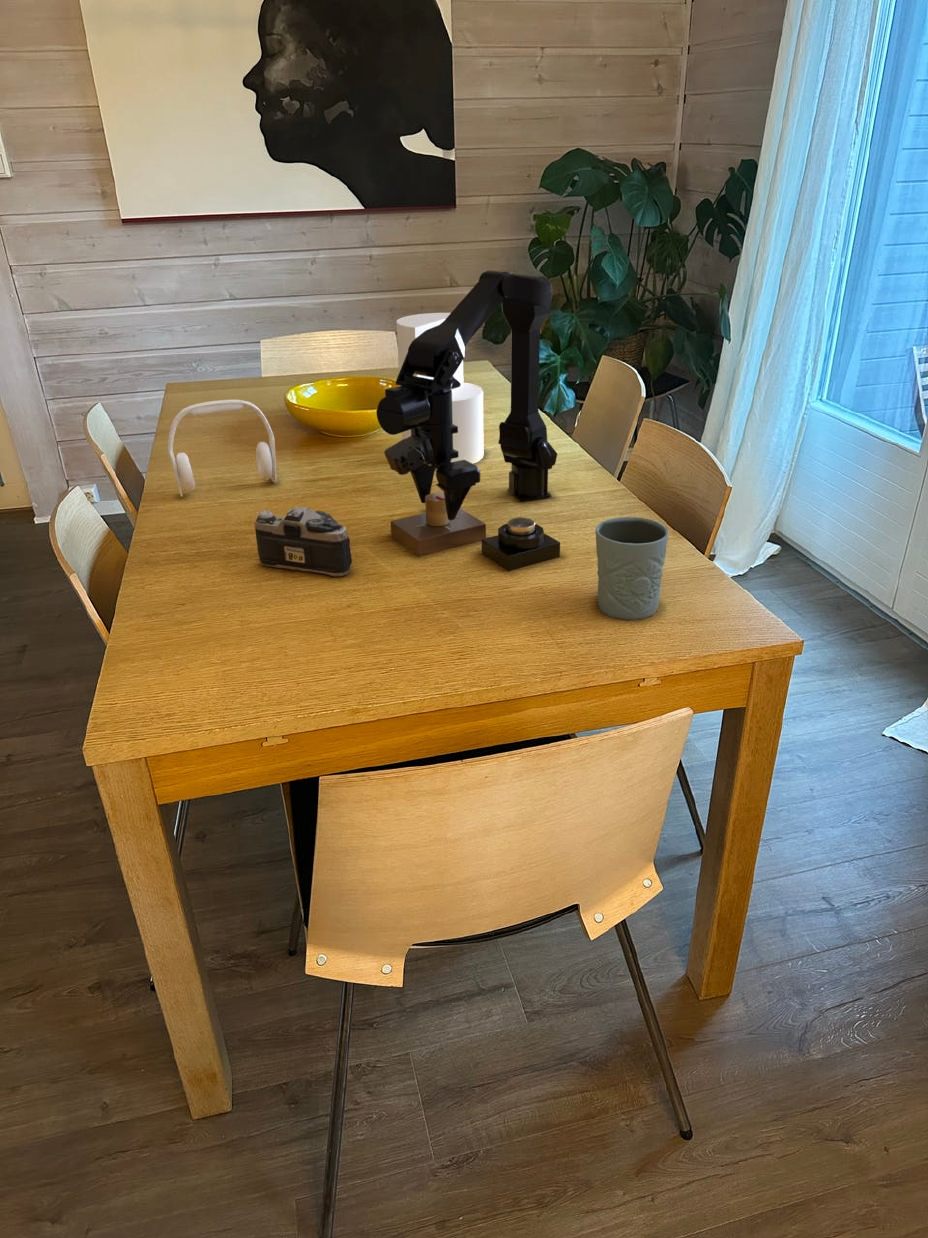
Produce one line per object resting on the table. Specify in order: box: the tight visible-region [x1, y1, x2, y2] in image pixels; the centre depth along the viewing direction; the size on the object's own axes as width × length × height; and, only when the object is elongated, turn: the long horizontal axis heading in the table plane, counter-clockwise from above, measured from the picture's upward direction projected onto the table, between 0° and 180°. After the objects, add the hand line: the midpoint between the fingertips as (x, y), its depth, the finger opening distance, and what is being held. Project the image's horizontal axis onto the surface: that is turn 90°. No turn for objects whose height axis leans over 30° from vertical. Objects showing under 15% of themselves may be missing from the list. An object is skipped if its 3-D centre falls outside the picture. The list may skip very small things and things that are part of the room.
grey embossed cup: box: [595, 516, 670, 621], centre depth 129 cm, size 10×10×12 cm
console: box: [389, 508, 487, 558], centre depth 153 cm, size 13×10×3 cm
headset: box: [167, 399, 278, 498], centre depth 172 cm, size 20×7×18 cm, turn 112°
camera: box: [254, 505, 353, 577], centre depth 144 cm, size 16×10×10 cm, turn 71°
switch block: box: [481, 523, 561, 572], centre depth 146 cm, size 10×8×4 cm
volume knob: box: [424, 492, 450, 526], centre depth 152 cm, size 4×4×5 cm
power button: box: [506, 517, 536, 537], centre depth 145 cm, size 4×4×2 cm
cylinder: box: [396, 312, 484, 470], centre depth 187 cm, size 17×17×28 cm
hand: (437, 510), depth 152 cm, fingers open, 9 cm apart
